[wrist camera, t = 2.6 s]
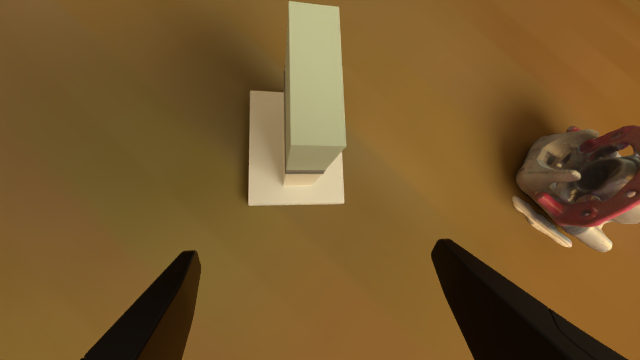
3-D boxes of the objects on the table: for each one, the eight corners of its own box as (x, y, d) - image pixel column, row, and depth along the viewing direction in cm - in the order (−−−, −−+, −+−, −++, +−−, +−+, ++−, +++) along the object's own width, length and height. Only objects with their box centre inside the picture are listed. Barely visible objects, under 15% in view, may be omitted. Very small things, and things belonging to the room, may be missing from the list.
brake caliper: (541, 95, 26) (770, 91, 17) (541, 163, 33) (705, 186, 24) (495, 182, 23) (739, 232, 14) (506, 236, 30) (676, 294, 21)
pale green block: (324, 171, 16) (346, 146, 11) (285, 171, 16) (290, 145, 11) (320, 70, 17) (339, 6, 12) (284, 68, 17) (288, 0, 12)
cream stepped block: (341, 203, 23) (366, 195, 17) (249, 205, 22) (238, 196, 15) (336, 100, 25) (357, 57, 18) (251, 96, 23) (242, 47, 17)
